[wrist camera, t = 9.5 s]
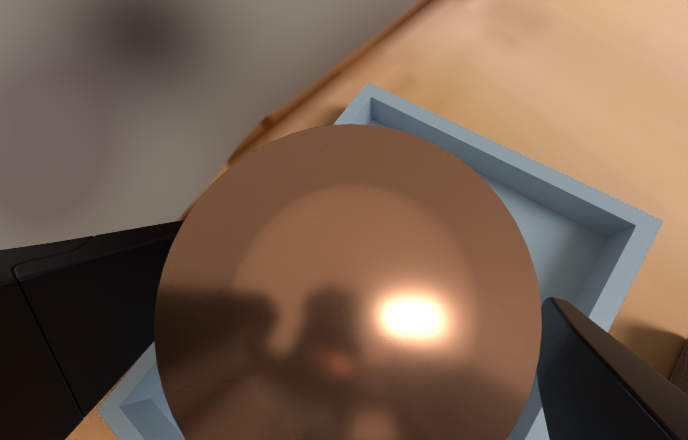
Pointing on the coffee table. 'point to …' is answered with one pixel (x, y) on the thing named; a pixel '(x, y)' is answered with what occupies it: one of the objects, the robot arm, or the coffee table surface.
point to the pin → (348, 297)
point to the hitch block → (681, 371)
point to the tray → (534, 224)
